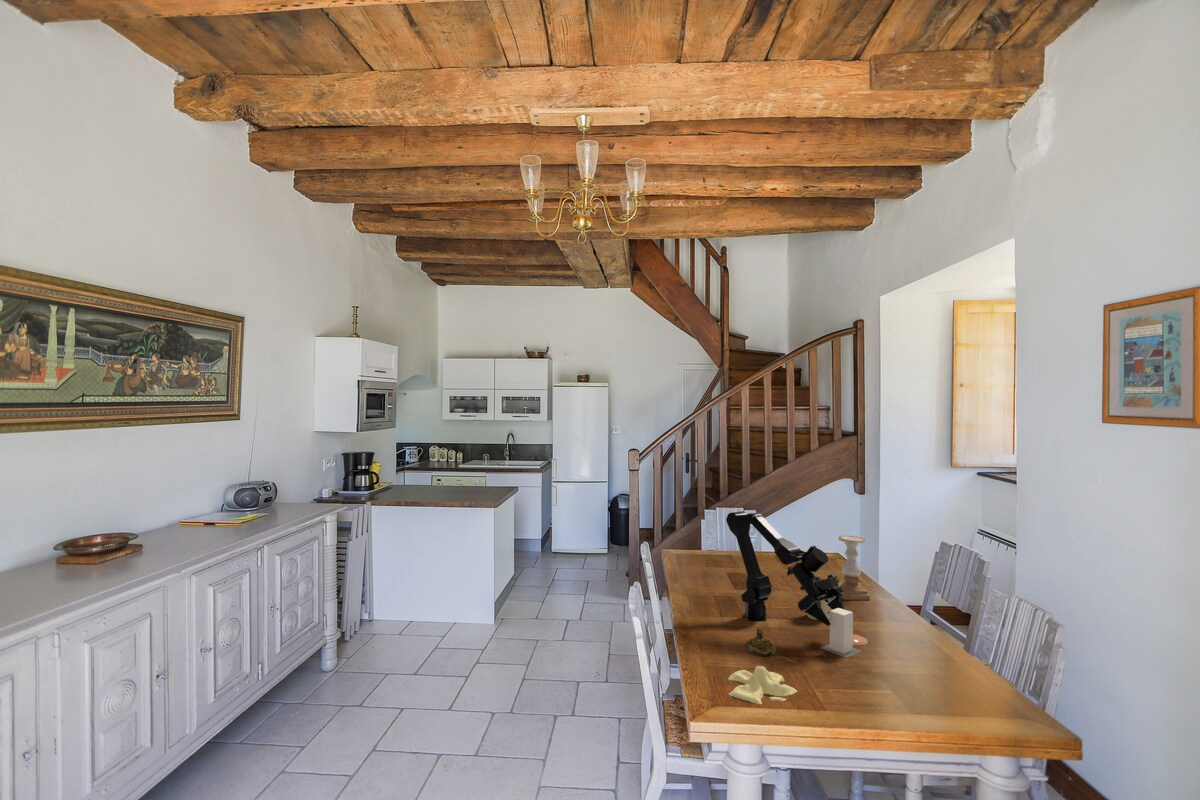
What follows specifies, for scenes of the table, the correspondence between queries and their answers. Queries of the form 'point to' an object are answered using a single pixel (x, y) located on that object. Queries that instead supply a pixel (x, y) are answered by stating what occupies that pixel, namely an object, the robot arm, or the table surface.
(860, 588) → the candle holder
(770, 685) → the cloth
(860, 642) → the peach dome
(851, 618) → the ivory block
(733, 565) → the table surface
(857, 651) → the gray tile
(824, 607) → the coffee cup
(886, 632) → the table surface
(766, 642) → the seal
